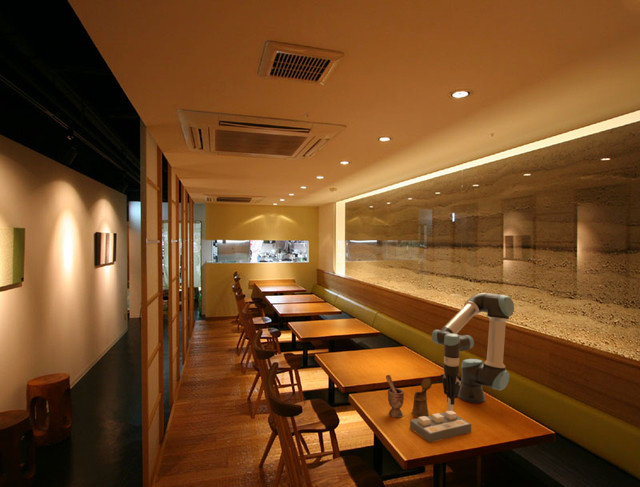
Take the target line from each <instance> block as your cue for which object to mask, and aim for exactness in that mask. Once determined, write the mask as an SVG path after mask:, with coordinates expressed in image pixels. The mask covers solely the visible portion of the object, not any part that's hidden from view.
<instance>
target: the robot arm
mask: <svg viewBox="0 0 640 487" xmlns="http://www.w3.org/2000/svg"><path fill="white" fill-rule="evenodd" d="M514 312H515V305H514V301H513V299H512V298H511V297H510V296H509V295H505V294H499V293H489V292H481V293H477V294H475V295H474V296H471V297H470V298H469V299H467V300H466V301H465V302H464V304H463V306H462V308H461V309H459V311H458V312H457V313H455V315H454V316H453V317H452V318H451V319H449V321H448V322H447V323H446V324H445V325H444V326H442V328H441V329H434V330H433V331H432V332H431V340H432V342H433V343H435V344H436V345H437V344H438V345H440V346H443V348H444V349H443V352H444V353H443V372H444V373H442V374H440V377H441V379H442V387H443V394H444V395H446V403H447V411H454V410H455V409H454V408H455V407H454V406H455V402H456V400H455V399H458V398H459V399H461V400H462V401H465V402H469V403H475V404H480V403H483V402H485V401H486V395H485V393H484V389H483V386H485V387H488V388H491V389H493V390H497V391H503V390H505V388H506V387H507V385H508V384H509V381H510V373H509V372H508V371H507V369H506V365H505V364H504V354H505V353H504V351H505V339H506V338H505V337H506V324H507V321H508V320H510V317H512V316H513V315H514ZM479 313H487V314H486V316H487V318H488V319H489V324H488V338H487V350H486V351H487V352H486V360H485V361H484V362H483V360H481V359H478V358H466V359H463V360H462V362H461V368H460V366H459V365H460V353H461V352H464V351H468V350H470V349H472V348H474V345H475V341H474V338H473V337H472V336H471V335H469V334H463V335H461V334H458V333H459V332H460V331H461V330H462V328H464V327H465V325H467V324H468V323H469V321H471V320H472V319H473V318H474V316H478V315H479ZM460 369H461V381H460V378H459V373H460Z"/></svg>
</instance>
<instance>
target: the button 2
mask: <svg viewBox="0 0 640 487" xmlns="http://www.w3.org/2000/svg"><path fill="white" fill-rule="evenodd" d="M444 413H445V417H446V418H448V419H449V420H454V419H457V416H458V415H457V413H456V412H454V410H452V411H449V410H446V411H445V412H444Z"/></svg>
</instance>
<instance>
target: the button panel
mask: <svg viewBox="0 0 640 487" xmlns="http://www.w3.org/2000/svg"><path fill="white" fill-rule="evenodd" d="M439 414H441V415H442V416H444V422H441V423H436V422H435V421H433V420H432V414H431V415H428V416H427V418H429V419H430V425H427V426H422V425H421V424H419V423H418V419H419V417H417V418H414V419H410V420H409V428H410V430H412V431H413V432H415V433H416V434H418V435H419V436H420V437H422V439H424V440H425V441H426V442H428V443H433V442H437V441H441V440H445V439H449V438H452V437H457V436H461V435H465V434H469V433H472V423H471V422H469V421H467V420H466V419H464V418H462V417H460V416H459V415H457V419H454V420H449V419H448V418H446V417H445V412H441V413H439Z"/></svg>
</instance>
